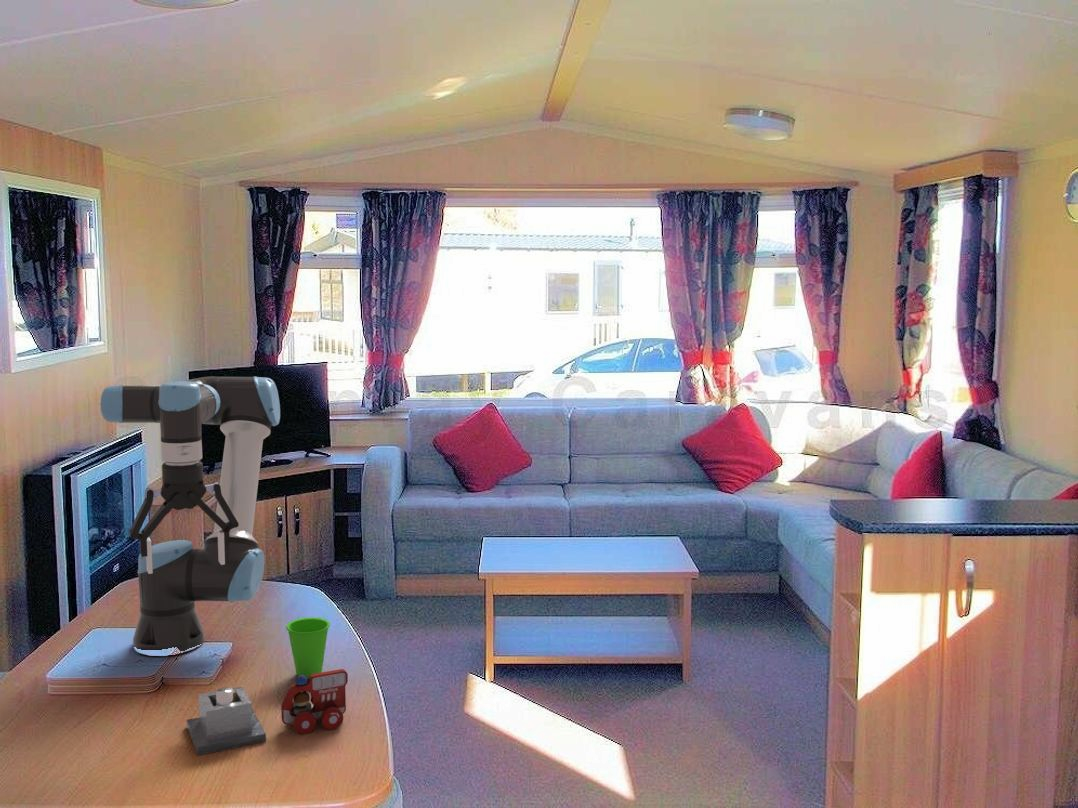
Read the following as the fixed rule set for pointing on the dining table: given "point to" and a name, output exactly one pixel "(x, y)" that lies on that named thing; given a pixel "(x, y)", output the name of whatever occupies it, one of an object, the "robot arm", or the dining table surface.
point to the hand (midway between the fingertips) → (186, 567)
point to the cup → (308, 644)
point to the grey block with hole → (225, 715)
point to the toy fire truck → (316, 701)
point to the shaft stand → (219, 744)
